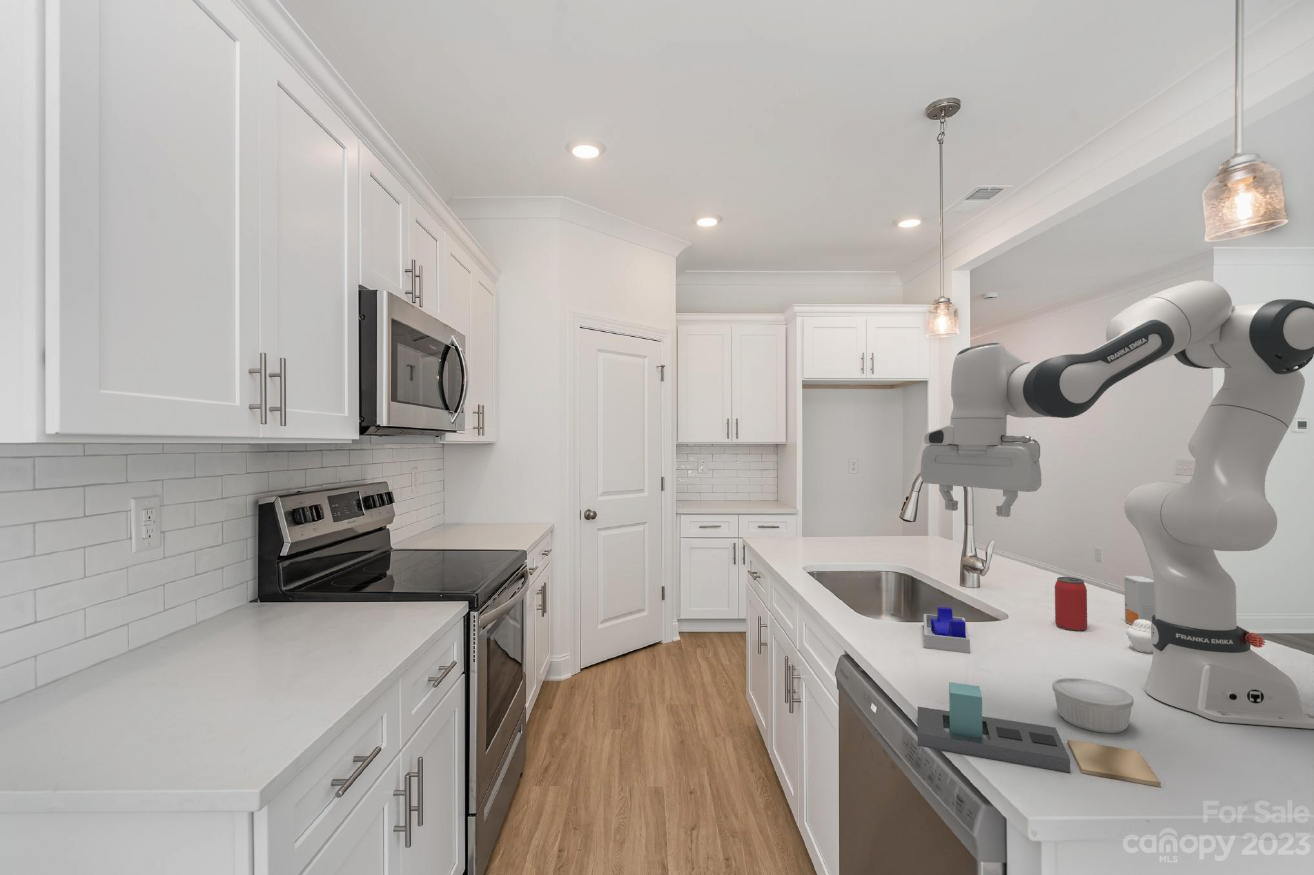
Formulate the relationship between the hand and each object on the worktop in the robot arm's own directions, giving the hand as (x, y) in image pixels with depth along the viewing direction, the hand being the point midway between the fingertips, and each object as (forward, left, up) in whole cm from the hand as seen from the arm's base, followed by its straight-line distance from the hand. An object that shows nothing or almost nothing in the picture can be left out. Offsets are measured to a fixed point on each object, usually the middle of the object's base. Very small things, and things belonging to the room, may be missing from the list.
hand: (976, 513), depth 107 cm
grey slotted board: (0, +13, -35) cm, 37 cm away
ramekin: (-17, -2, -35) cm, 39 cm away
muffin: (-36, -45, -35) cm, 67 cm away
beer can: (-25, -58, -35) cm, 72 cm away
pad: (-16, +13, -35) cm, 40 cm away
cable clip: (+3, -38, -35) cm, 52 cm away
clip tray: (+4, -38, -35) cm, 51 cm away
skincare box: (-41, -65, -35) cm, 84 cm away
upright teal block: (+3, +13, -35) cm, 37 cm away
